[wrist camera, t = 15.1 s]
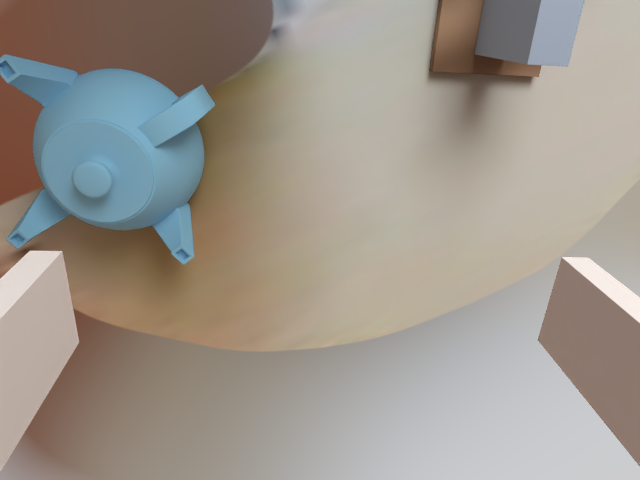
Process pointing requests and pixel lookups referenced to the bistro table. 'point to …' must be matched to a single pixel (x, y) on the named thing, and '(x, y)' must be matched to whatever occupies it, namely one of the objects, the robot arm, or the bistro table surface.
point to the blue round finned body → (112, 151)
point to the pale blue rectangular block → (529, 30)
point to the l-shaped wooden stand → (467, 43)
